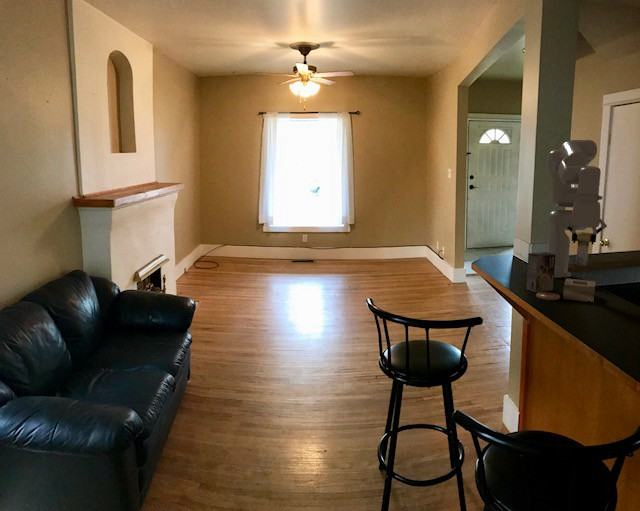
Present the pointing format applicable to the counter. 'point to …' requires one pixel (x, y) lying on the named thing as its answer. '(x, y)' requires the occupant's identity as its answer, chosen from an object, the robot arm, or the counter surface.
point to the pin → (582, 247)
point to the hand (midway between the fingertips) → (583, 243)
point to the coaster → (548, 296)
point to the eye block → (579, 290)
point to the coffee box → (540, 271)
